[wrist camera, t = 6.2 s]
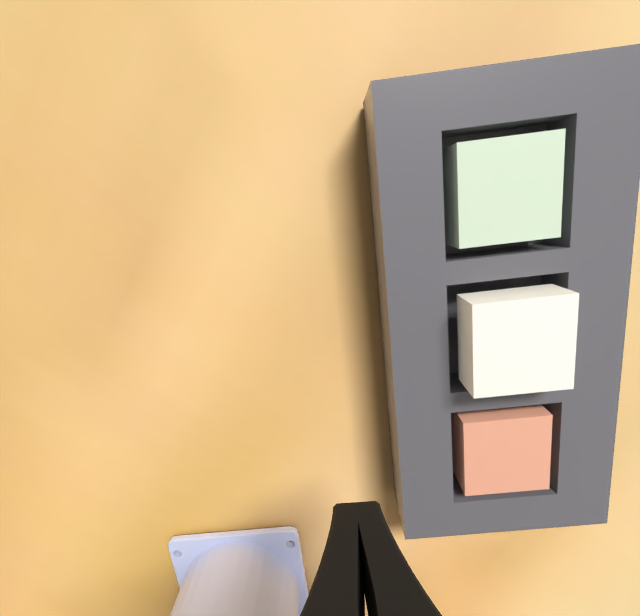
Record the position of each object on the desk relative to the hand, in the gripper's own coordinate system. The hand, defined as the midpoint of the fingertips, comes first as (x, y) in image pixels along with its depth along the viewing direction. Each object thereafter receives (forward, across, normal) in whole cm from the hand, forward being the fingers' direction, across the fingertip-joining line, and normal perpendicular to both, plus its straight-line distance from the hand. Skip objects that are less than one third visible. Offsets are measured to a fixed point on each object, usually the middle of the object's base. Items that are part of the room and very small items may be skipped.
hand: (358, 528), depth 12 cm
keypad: (+9, -7, -4) cm, 12 cm away
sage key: (+8, -7, -10) cm, 14 cm away
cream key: (+6, -7, -4) cm, 10 cm away
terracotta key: (+8, -7, +2) cm, 11 cm away
